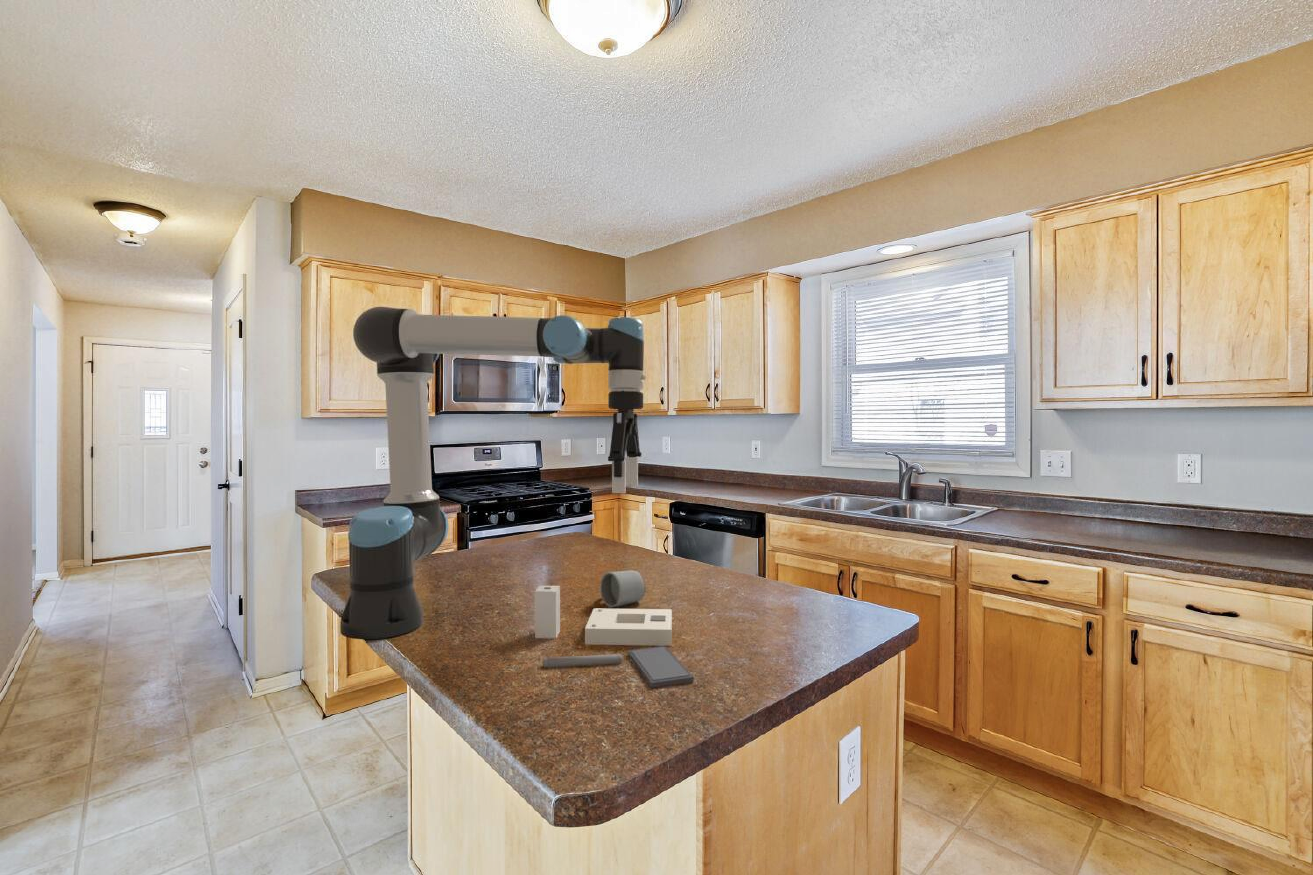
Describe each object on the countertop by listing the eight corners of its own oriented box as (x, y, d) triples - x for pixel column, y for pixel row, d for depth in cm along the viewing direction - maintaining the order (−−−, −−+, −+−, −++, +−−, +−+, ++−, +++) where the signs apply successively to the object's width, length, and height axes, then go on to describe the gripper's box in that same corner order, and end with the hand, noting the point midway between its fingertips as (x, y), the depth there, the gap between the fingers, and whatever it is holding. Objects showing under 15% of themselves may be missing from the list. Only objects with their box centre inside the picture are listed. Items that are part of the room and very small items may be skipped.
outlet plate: (584, 644, 113) (584, 627, 113) (593, 622, 125) (593, 607, 125) (671, 645, 113) (671, 628, 113) (671, 623, 125) (671, 608, 125)
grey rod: (542, 669, 102) (542, 660, 102) (542, 665, 104) (542, 656, 104) (623, 665, 104) (623, 655, 104) (622, 661, 106) (622, 652, 106)
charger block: (535, 638, 117) (534, 590, 116) (539, 630, 121) (539, 584, 120) (556, 638, 116) (555, 590, 116) (560, 631, 120) (559, 584, 120)
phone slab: (651, 687, 95) (651, 682, 95) (627, 654, 108) (627, 649, 108) (693, 681, 97) (693, 676, 97) (665, 650, 110) (665, 645, 110)
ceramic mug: (648, 603, 138) (648, 570, 138) (619, 611, 133) (619, 576, 133) (619, 594, 146) (619, 562, 146) (591, 601, 141) (591, 567, 141)
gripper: (631, 388, 119) (631, 496, 119) (652, 393, 143) (651, 483, 144) (594, 388, 120) (594, 495, 120) (621, 393, 144) (620, 482, 145)
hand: (625, 489), depth 132 cm, fingers open, 13 cm apart
